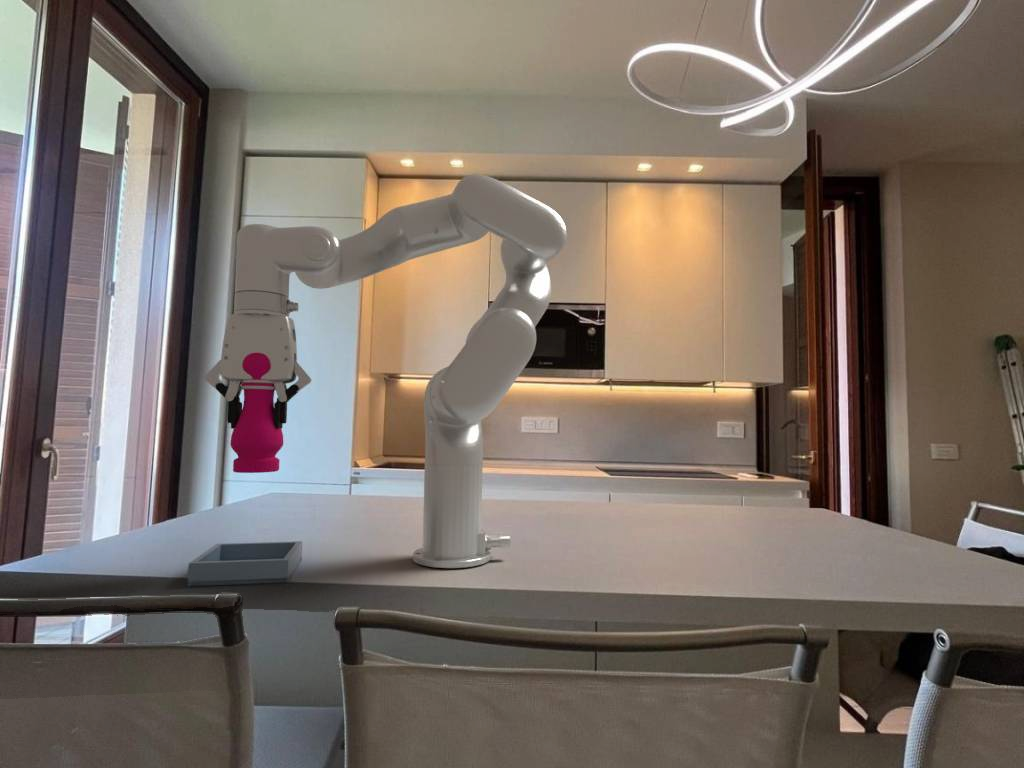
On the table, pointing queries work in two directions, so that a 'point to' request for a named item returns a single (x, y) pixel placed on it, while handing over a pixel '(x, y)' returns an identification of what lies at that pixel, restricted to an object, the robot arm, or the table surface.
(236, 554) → the tray
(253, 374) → the pepper mill
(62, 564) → the table surface
